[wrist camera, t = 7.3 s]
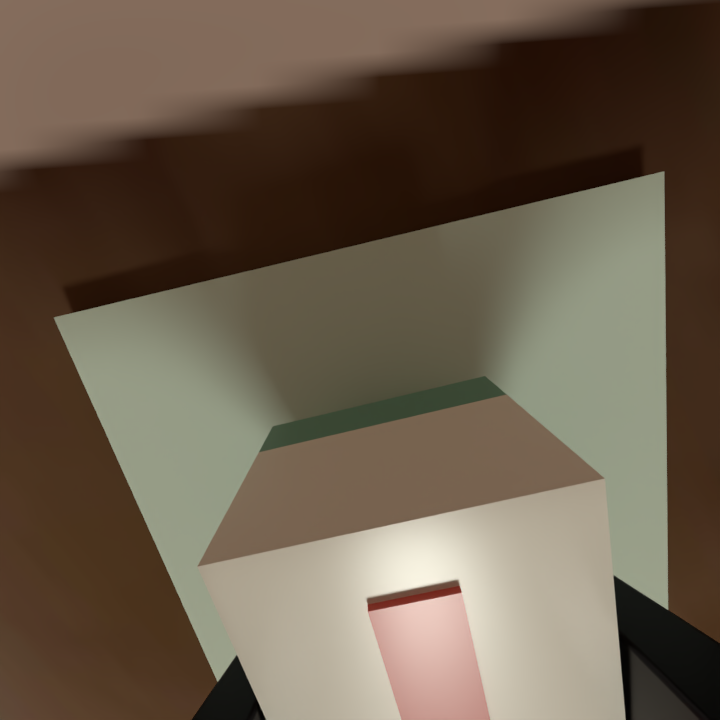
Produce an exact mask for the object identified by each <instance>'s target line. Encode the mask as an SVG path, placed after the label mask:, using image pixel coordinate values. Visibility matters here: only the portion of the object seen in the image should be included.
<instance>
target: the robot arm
mask: <svg viewBox="0 0 720 720" xmlns="http://www.w3.org/2000/svg"><path fill="white" fill-rule="evenodd" d="M613 578H614V589H615V601H616V613H617V624H618V636H619V648H620V659H621V671H622V683H623V694H624V706H625V717H626V720H720V643H718V642H717V641H715V640H714V639H712V638H711V637H709V636H707V635H706V634H704V633H703V632H701V631H700V630H698V629H697V628H695V627H694V626H692V625H690V624H689V623H687V622H686V621H684V620H683V619H681V618H680V617H678V616H676V615H675V614H673V613H672V612H670V611H669V610H667V609H666V608H664V607H663V606H661V605H659V604H658V603H656V602H655V601H653V600H652V599H650V598H649V597H647V596H646V595H644V594H642V593H641V592H639V591H638V590H636V589H635V588H633V587H632V586H630V585H628V584H627V583H625V582H624V581H622V580H621V579H619V578H618V577H616V576H615V575H613ZM192 720H266V718H265V716H264V714H263V712H262V709H261V707H260V705H259V703H258V701H257V698H256V696H255V694H254V692H253V689H252V687H251V685H250V683H249V681H248V678H247V676H246V674H245V672H244V669H243V667H242V665H241V663H240V661H239V658H238V656H237V655H236V656H235V658H234V659H233V661H232V662H231V664H230V665H229V666H228V668H227V669H226V671H225V672H224V674H223V675H222V677H221V678H220V680H219V681H218V682H217V684H216V685H215V687H214V688H213V690H212V691H211V693H210V694H209V695H208V697H207V698H206V700H205V701H204V703H203V704H202V706H201V707H200V708H199V710H198V711H197V713H196V714H195V716H194V717H193V719H192Z"/></svg>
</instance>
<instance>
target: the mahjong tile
mask: <svg viewBox="0 0 720 720" xmlns="http://www.w3.org/2000/svg"><path fill="white" fill-rule="evenodd" d="M197 567H198V570H199V572H200V574H201V576H202V578H203V581H204V583H205V585H206V587H207V590H208V592H209V594H210V596H211V598H212V601H213V603H214V605H215V607H216V610H217V612H218V614H219V616H220V618H221V621H222V623H223V625H224V627H225V629H226V632H227V634H228V636H229V638H230V641H231V643H232V645H233V647H234V649H235V652H236V654H237V656H238V658H239V661H240V663H241V665H242V667H243V669H244V672H245V674H246V676H247V678H248V681H249V683H250V685H251V687H252V689H253V692H254V694H255V696H256V698H257V701H258V703H259V705H260V707H261V709H262V712H263V714H264V716H265V718H266V720H626V717H625V706H624V694H623V683H622V671H621V659H620V648H619V636H618V624H617V613H616V601H615V589H614V578H613V566H612V554H611V543H610V531H609V519H608V508H607V496H606V484H605V478H604V477H603V476H601V475H600V474H599V473H598V472H597V471H596V470H594V469H593V468H592V467H591V466H590V465H589V464H587V463H586V462H585V461H584V460H583V459H582V458H580V457H579V456H578V455H577V454H576V453H575V452H573V451H572V450H571V449H570V448H569V447H568V446H566V445H565V444H564V443H563V442H562V441H561V440H559V439H558V438H557V437H556V436H555V435H554V434H552V433H551V432H550V431H549V430H548V429H547V428H545V427H544V426H543V425H542V424H541V423H539V422H538V421H537V420H536V419H535V418H534V417H532V416H531V415H530V414H529V413H528V412H527V411H525V410H524V409H523V408H522V407H521V406H520V405H518V404H517V403H516V402H515V401H514V400H513V399H511V398H510V397H509V396H508V395H507V394H506V393H504V392H503V391H502V390H501V389H500V388H499V387H497V386H496V385H495V384H494V383H493V382H492V381H490V380H489V379H488V378H487V377H486V376H483V377H478V378H474V379H470V380H466V381H462V382H457V383H453V384H449V385H445V386H441V387H436V388H432V389H428V390H424V391H419V392H415V393H411V394H407V395H403V396H398V397H394V398H390V399H386V400H382V401H377V402H373V403H369V404H365V405H360V406H356V407H352V408H348V409H344V410H339V411H335V412H331V413H327V414H323V415H318V416H314V417H310V418H306V419H301V420H297V421H293V422H289V423H285V424H280V425H276V426H273V427H272V429H271V430H270V432H269V434H268V436H267V438H266V440H265V442H264V443H263V445H262V447H261V449H260V451H259V453H258V455H257V456H256V458H255V460H254V462H253V464H252V466H251V468H250V470H249V471H248V473H247V475H246V477H245V479H244V481H243V483H242V484H241V486H240V488H239V490H238V492H237V494H236V496H235V497H234V499H233V501H232V503H231V505H230V507H229V509H228V510H227V512H226V514H225V516H224V518H223V520H222V522H221V523H220V525H219V527H218V529H217V531H216V533H215V535H214V536H213V538H212V540H211V542H210V544H209V546H208V548H207V549H206V551H205V553H204V555H203V557H202V559H201V561H200V562H199V564H198V566H197Z"/></svg>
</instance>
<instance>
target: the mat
mask: <svg viewBox="0 0 720 720" xmlns="http://www.w3.org/2000/svg"><path fill="white" fill-rule="evenodd" d="M54 319H55V321H56V324H57V326H58V328H59V330H60V333H61V335H62V337H63V339H64V341H65V344H66V346H67V348H68V350H69V353H70V355H71V357H72V359H73V362H74V364H75V366H76V368H77V370H78V373H79V375H80V377H81V379H82V382H83V384H84V386H85V388H86V390H87V393H88V395H89V397H90V399H91V402H92V404H93V406H94V408H95V410H96V413H97V415H98V417H99V419H100V422H101V424H102V426H103V428H104V430H105V433H106V435H107V437H108V439H109V442H110V444H111V446H112V448H113V450H114V453H115V455H116V457H117V459H118V462H119V464H120V466H121V468H122V470H123V473H124V475H125V477H126V479H127V482H128V484H129V486H130V488H131V490H132V493H133V495H134V497H135V499H136V502H137V504H138V506H139V508H140V510H141V513H142V515H143V517H144V519H145V522H146V524H147V526H148V528H149V530H150V533H151V535H152V537H153V539H154V542H155V544H156V546H157V548H158V550H159V553H160V555H161V557H162V559H163V562H164V564H165V566H166V568H167V571H168V573H169V575H170V577H171V579H172V582H173V584H174V586H175V588H176V591H177V593H178V595H179V597H180V599H181V602H182V604H183V606H184V608H185V611H186V613H187V615H188V617H189V619H190V622H191V624H192V626H193V628H194V631H195V633H196V635H197V637H198V639H199V642H200V644H201V646H202V648H203V651H204V653H205V655H206V657H207V659H208V662H209V664H210V666H211V668H212V671H213V673H214V675H215V677H216V679H217V682H218V681H219V680H220V678H221V677H222V675H223V674H224V672H225V671H226V669H227V668H228V666H229V665H230V664H231V662H232V661H233V659H234V658H235V656H236V655H237V654H236V652H235V649H234V647H233V645H232V643H231V641H230V638H229V636H228V634H227V632H226V629H225V627H224V625H223V623H222V621H221V618H220V616H219V614H218V612H217V610H216V607H215V605H214V603H213V601H212V598H211V596H210V594H209V592H208V590H207V587H206V585H205V583H204V581H203V578H202V576H201V574H200V572H199V570H198V567H197V566H198V564H199V562H200V561H201V559H202V557H203V555H204V553H205V551H206V549H207V548H208V546H209V544H210V542H211V540H212V538H213V536H214V535H215V533H216V531H217V529H218V527H219V525H220V523H221V522H222V520H223V518H224V516H225V514H226V512H227V510H228V509H229V507H230V505H231V503H232V501H233V499H234V497H235V496H236V494H237V492H238V490H239V488H240V486H241V484H242V483H243V481H244V479H245V477H246V475H247V473H248V471H249V470H250V468H251V466H252V464H253V462H254V460H255V458H256V456H257V455H258V453H259V451H260V449H261V447H262V445H263V443H264V442H265V440H266V438H267V436H268V434H269V432H270V430H271V429H272V427H273V426H276V425H280V424H285V423H289V422H293V421H297V420H301V419H306V418H310V417H314V416H318V415H323V414H327V413H331V412H335V411H339V410H344V409H348V408H352V407H356V406H360V405H365V404H369V403H373V402H377V401H382V400H386V399H390V398H394V397H398V396H403V395H407V394H411V393H415V392H419V391H424V390H428V389H432V388H436V387H441V386H445V385H449V384H453V383H457V382H462V381H466V380H470V379H474V378H478V377H483V376H486V377H487V378H488V379H489V380H490V381H492V382H493V383H494V384H495V385H496V386H497V387H499V388H500V389H501V390H502V391H503V392H504V393H506V394H507V395H508V396H509V397H510V398H511V399H513V400H514V401H515V402H516V403H517V404H518V405H520V406H521V407H522V408H523V409H524V410H525V411H527V412H528V413H529V414H530V415H531V416H532V417H534V418H535V419H536V420H537V421H538V422H539V423H541V424H542V425H543V426H544V427H545V428H547V429H548V430H549V431H550V432H551V433H552V434H554V435H555V436H556V437H557V438H558V439H559V440H561V441H562V442H563V443H564V444H565V445H566V446H568V447H569V448H570V449H571V450H572V451H573V452H575V453H576V454H577V455H578V456H579V457H580V458H582V459H583V460H584V461H585V462H586V463H587V464H589V465H590V466H591V467H592V468H593V469H594V470H596V471H597V472H598V473H599V474H600V475H601V476H603V477H604V478H605V484H606V496H607V508H608V519H609V531H610V543H611V554H612V566H613V575H615V576H616V577H618V578H619V579H621V580H622V581H624V582H625V583H627V584H628V585H630V586H632V587H633V588H635V589H636V590H638V591H639V592H641V593H642V594H644V595H646V596H647V597H649V598H650V599H652V600H653V601H655V602H656V603H658V604H659V605H661V606H663V607H664V608H666V609H667V610H668V548H667V433H666V317H665V202H664V172H660V173H655V174H651V175H647V176H643V177H639V178H635V179H630V180H626V181H622V182H618V183H614V184H610V185H605V186H601V187H597V188H593V189H589V190H584V191H580V192H576V193H572V194H568V195H564V196H559V197H555V198H551V199H547V200H543V201H539V202H534V203H530V204H526V205H522V206H518V207H513V208H509V209H505V210H501V211H497V212H493V213H488V214H484V215H480V216H476V217H472V218H468V219H463V220H459V221H455V222H451V223H447V224H442V225H438V226H434V227H430V228H426V229H422V230H417V231H413V232H409V233H405V234H401V235H397V236H392V237H388V238H384V239H380V240H376V241H371V242H367V243H363V244H359V245H355V246H351V247H346V248H342V249H338V250H334V251H330V252H326V253H321V254H317V255H313V256H309V257H305V258H300V259H296V260H292V261H288V262H284V263H280V264H275V265H271V266H267V267H263V268H259V269H255V270H250V271H246V272H242V273H238V274H234V275H229V276H225V277H221V278H217V279H213V280H209V281H204V282H200V283H196V284H192V285H188V286H184V287H179V288H175V289H171V290H167V291H163V292H159V293H154V294H150V295H146V296H142V297H138V298H133V299H129V300H125V301H121V302H117V303H113V304H108V305H104V306H100V307H96V308H92V309H88V310H83V311H79V312H75V313H71V314H67V315H62V316H58V317H54Z"/></svg>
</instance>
